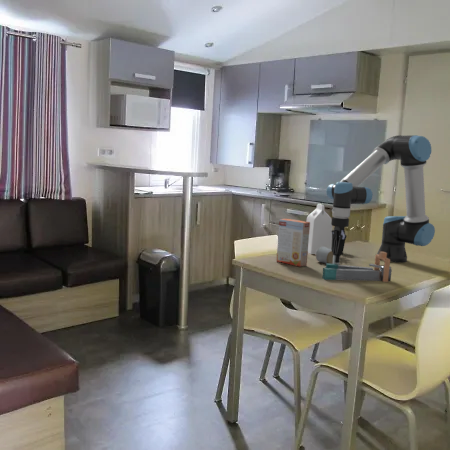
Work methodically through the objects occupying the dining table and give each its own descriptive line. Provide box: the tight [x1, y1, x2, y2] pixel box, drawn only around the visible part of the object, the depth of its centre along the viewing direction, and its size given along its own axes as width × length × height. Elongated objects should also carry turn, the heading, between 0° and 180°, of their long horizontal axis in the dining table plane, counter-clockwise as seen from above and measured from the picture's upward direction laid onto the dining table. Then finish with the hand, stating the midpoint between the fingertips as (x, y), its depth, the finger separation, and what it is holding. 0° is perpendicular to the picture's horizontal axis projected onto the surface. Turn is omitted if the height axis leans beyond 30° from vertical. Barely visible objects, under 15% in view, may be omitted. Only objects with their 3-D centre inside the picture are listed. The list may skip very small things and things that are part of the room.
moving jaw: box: [325, 263, 392, 270], centre depth 226 cm, size 27×7×6 cm, turn 82°
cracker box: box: [276, 218, 310, 268], centre depth 245 cm, size 14×6×21 cm, turn 47°
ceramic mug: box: [315, 247, 333, 265], centre depth 252 cm, size 11×8×8 cm
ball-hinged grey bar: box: [322, 267, 393, 283], centre depth 222 cm, size 30×5×5 cm, turn 98°
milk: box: [305, 203, 333, 256], centre depth 277 cm, size 12×12×26 cm
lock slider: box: [373, 252, 391, 283], centre depth 224 cm, size 2×10×12 cm, turn 8°
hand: (335, 269), depth 232 cm, fingers closed
